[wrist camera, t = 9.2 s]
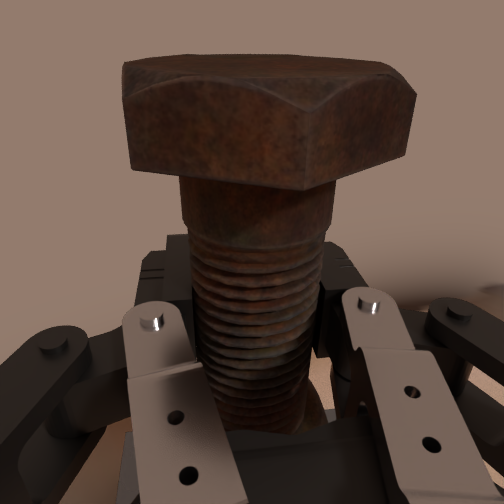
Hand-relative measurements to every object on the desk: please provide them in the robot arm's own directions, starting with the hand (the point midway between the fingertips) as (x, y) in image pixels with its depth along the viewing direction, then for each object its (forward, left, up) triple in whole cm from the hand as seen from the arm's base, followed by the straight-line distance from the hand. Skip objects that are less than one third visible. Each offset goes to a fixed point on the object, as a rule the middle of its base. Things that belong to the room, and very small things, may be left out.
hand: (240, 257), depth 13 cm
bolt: (0, +3, -9) cm, 10 cm away
